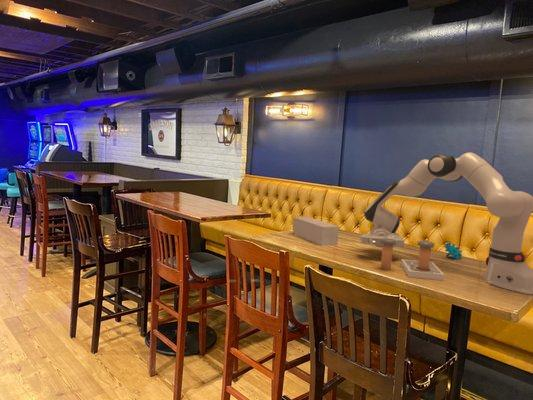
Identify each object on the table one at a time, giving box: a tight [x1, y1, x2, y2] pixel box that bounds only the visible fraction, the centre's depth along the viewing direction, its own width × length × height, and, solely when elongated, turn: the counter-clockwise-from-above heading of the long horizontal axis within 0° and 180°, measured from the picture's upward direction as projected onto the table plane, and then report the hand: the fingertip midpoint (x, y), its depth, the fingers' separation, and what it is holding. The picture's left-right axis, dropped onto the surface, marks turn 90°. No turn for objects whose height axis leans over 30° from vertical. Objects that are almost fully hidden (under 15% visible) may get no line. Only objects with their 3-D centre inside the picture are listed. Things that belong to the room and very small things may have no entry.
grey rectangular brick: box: [292, 216, 340, 247], centre depth 238 cm, size 32×11×11 cm, turn 26°
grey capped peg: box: [417, 240, 435, 271], centre depth 172 cm, size 7×7×14 cm
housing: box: [400, 258, 445, 281], centre depth 177 cm, size 20×14×4 cm
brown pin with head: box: [380, 238, 396, 271], centre depth 178 cm, size 7×7×14 cm
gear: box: [444, 241, 463, 260], centre depth 212 cm, size 11×6×10 cm
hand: (383, 244), depth 190 cm, fingers open, 8 cm apart
